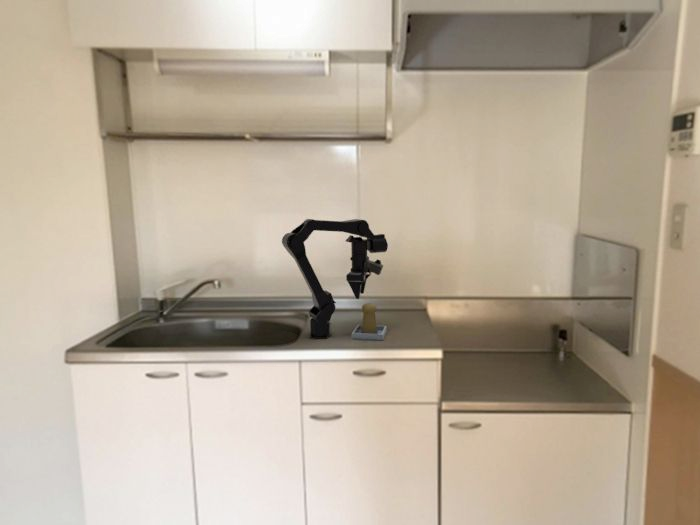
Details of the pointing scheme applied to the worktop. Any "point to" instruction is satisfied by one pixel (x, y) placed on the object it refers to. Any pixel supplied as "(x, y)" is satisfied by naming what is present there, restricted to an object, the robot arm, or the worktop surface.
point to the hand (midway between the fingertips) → (359, 296)
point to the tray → (365, 336)
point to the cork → (369, 319)
